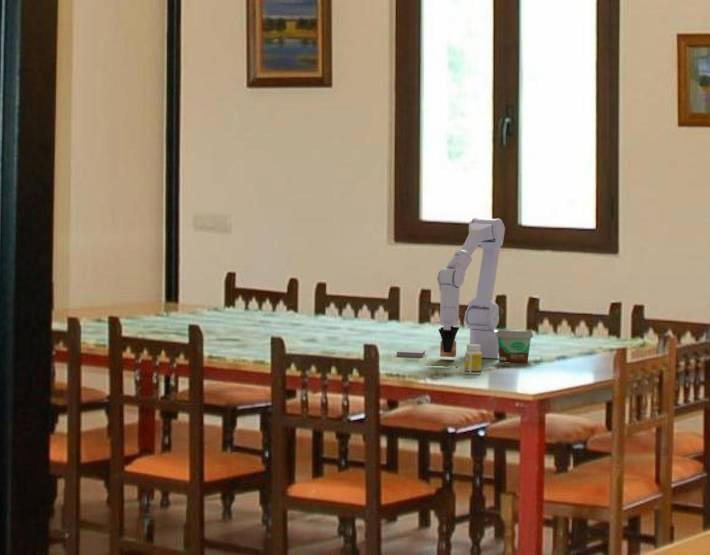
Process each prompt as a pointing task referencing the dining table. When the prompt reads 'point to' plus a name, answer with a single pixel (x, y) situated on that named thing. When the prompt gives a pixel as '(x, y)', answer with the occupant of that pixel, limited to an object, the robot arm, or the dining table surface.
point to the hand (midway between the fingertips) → (448, 351)
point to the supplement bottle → (473, 359)
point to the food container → (514, 346)
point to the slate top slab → (410, 353)
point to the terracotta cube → (448, 354)
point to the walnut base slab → (412, 357)
